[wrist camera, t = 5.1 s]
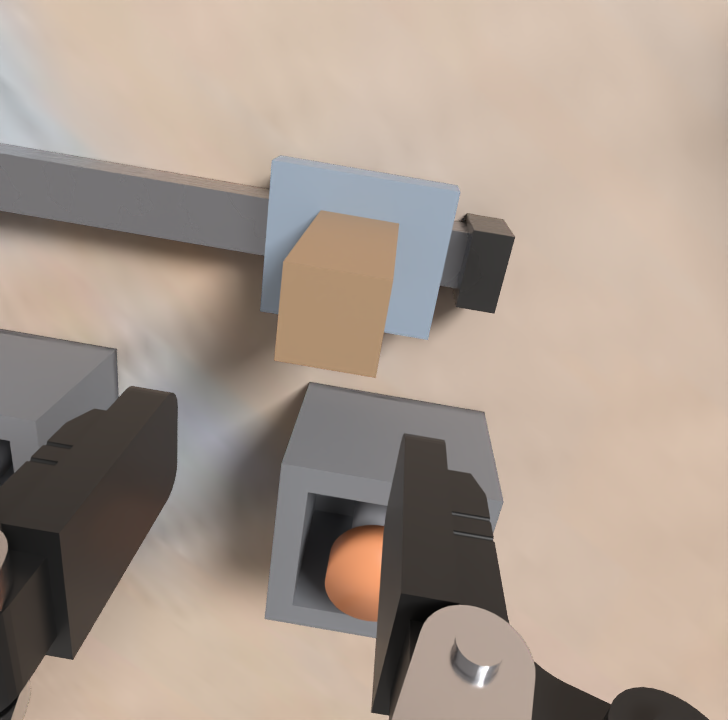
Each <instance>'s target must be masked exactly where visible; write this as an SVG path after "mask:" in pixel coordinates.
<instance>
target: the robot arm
mask: <svg viewBox="0 0 728 720" xmlns="http://www.w3.org/2000/svg"><path fill="white" fill-rule="evenodd" d="M177 417H178V405H177V398H176V395H175V394H174V393H170V392H164V391H158V390H152V389H146V388H141V387H135V386H131V387H129V388H127V389H126V390H125V391H124V392H123V393H122V395H121V396H120V397H119V398H118V399H117V400H116V401H115V402H114V403H113V404H112V405H111V406H110V407H109V408H108V409H107V411H106V410H101V409H95V408H94V409H92V410H90V411H88V412H86V413H84V414H82V415H80V416H78V417H76V418H74V419H72V420H70V421H68V422H66V423H65V424H64V425H63V426H62V427H61V428H60V429H59V430H58V431H57V432H56V433H55V434H54V435H53V436H52V437H51V438H50V439H49V440H48V441H47V444H46V445H42V446H41V447H40V448H39V449H38V450H37V451H36V452H35V453H34V454H33V455H32V456H31V459H30V461H26V462H25V463H24V464H23V465H22V466H21V467H20V468H19V469H18V470H17V471H16V472H15V473H14V474H13V475H12V476H11V477H10V478H9V479H8V480H7V481H6V482H5V483H4V484H3V485H2V486H1V487H0V720H23V719H24V716H25V713H26V710H27V707H28V703H29V700H30V695H31V684H30V678H31V676H32V675H33V673H34V672H35V670H36V669H37V667H38V665H39V664H40V662H41V661H42V659H43V658H44V656H45V655H49V656H54V657H60V658H66V659H72V660H73V659H74V657H75V655H76V654H77V652H78V650H79V649H80V647H81V645H82V644H83V642H84V640H85V639H86V637H87V635H88V633H89V632H90V630H91V628H92V627H93V625H94V623H95V622H96V620H97V618H98V617H99V615H100V613H101V611H102V610H103V608H104V606H105V605H106V603H107V601H108V600H109V598H110V596H111V595H112V593H113V591H114V589H115V588H116V586H117V584H118V583H119V581H120V579H121V578H122V576H123V574H124V572H125V571H126V569H127V567H128V566H129V564H130V562H131V561H132V559H133V557H134V556H135V554H136V552H137V550H138V549H139V547H140V545H141V544H142V542H143V540H144V539H145V537H146V535H147V534H148V532H149V530H150V528H151V527H152V525H153V523H154V522H155V520H156V518H157V517H158V515H159V513H160V512H161V510H162V508H163V506H164V505H165V503H166V501H167V500H168V498H169V495H170V493H171V491H172V488H173V484H174V481H175V476H176V470H177ZM493 537H494V536H493V531H492V525H491V522H490V514H489V508H488V502H487V497H486V494H485V492H484V491H483V490H482V488H481V487H480V485H479V484H478V483H477V481H476V480H475V479H474V477H473V476H472V474H471V473H466V472H460V471H454V470H448V464H447V453H446V443H445V440H442V439H436V438H430V437H424V436H419V435H413V434H407V433H404V434H403V436H402V440H401V444H400V449H399V453H398V458H397V463H396V467H395V472H394V477H393V481H392V486H391V491H390V495H389V500H388V505H387V511H386V517H385V524H384V532H383V545H382V560H381V575H380V590H379V605H378V620H377V634H376V649H375V664H374V679H373V694H372V709H371V713H377V714H383V715H389V720H709V719H708V718H707V717H705V716H704V715H703V714H702V713H700V712H699V711H698V710H697V709H695V708H694V707H692V706H691V705H690V704H688V703H687V702H685V701H683V700H681V699H679V698H678V697H676V696H674V695H671V694H669V693H666V692H664V691H661V690H657V689H653V688H645V687H639V688H631V689H628V690H625V691H623V692H622V693H620V694H619V695H618V696H617V697H616V698H615V699H614V700H613V702H612V704H609V703H607V702H605V701H603V700H600V699H598V698H596V697H594V696H592V695H590V694H588V693H586V692H584V691H582V690H579V689H577V688H575V687H573V686H571V685H569V684H567V683H565V682H563V681H561V680H559V679H557V678H556V677H554V676H552V675H551V674H549V673H548V672H547V671H545V670H544V669H542V668H541V667H540V666H539V665H538V664H537V663H535V662H534V660H533V657H532V654H531V652H530V649H529V648H528V646H527V644H526V642H525V641H524V639H523V638H522V637H521V635H520V634H519V633H518V632H517V631H516V630H515V629H514V628H513V627H512V626H511V625H510V624H509V620H508V616H507V610H506V604H505V599H504V593H503V587H502V582H501V576H500V570H499V565H498V559H497V553H496V548H495V542H493Z"/></svg>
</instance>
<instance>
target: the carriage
mask: <svg viewBox="0 0 728 720" xmlns="http://www.w3.org/2000/svg"><path fill="white" fill-rule="evenodd" d="M459 196H460V190H459V188H458V186H457V185H452V184H446V183H440V182H434V181H428V180H422V179H416V178H410V177H404V176H399V175H393V174H387V173H381V172H375V171H369V170H363V169H357V168H351V167H346V166H340V165H334V164H328V163H322V162H316V161H310V160H304V159H298V158H293V157H287V156H281V155H280V156H278V157H277V158H275V159H273V160H272V165H271V178H270V191H269V204H268V217H267V230H266V243H265V256H264V269H263V282H262V295H261V308H260V311H262V312H268V313H274V314H278V323H277V334H276V345H275V356H274V361H280V362H286V363H292V364H298V365H303V366H309V367H315V368H321V369H327V370H333V371H338V372H344V373H350V374H356V375H362V376H368V377H373V378H376V373H377V367H378V362H379V356H380V351H381V345H382V340H383V334H384V332H385V333H390V334H396V335H402V336H408V337H414V338H420V339H426V340H428V337H429V332H430V328H431V323H432V319H433V314H434V309H435V305H436V300H437V296H438V291H439V287H440V282H441V278H442V273H443V269H444V264H445V259H446V255H447V250H448V246H449V241H450V237H451V232H452V228H453V223H454V219H455V214H456V209H457V205H458V200H459Z"/></svg>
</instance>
